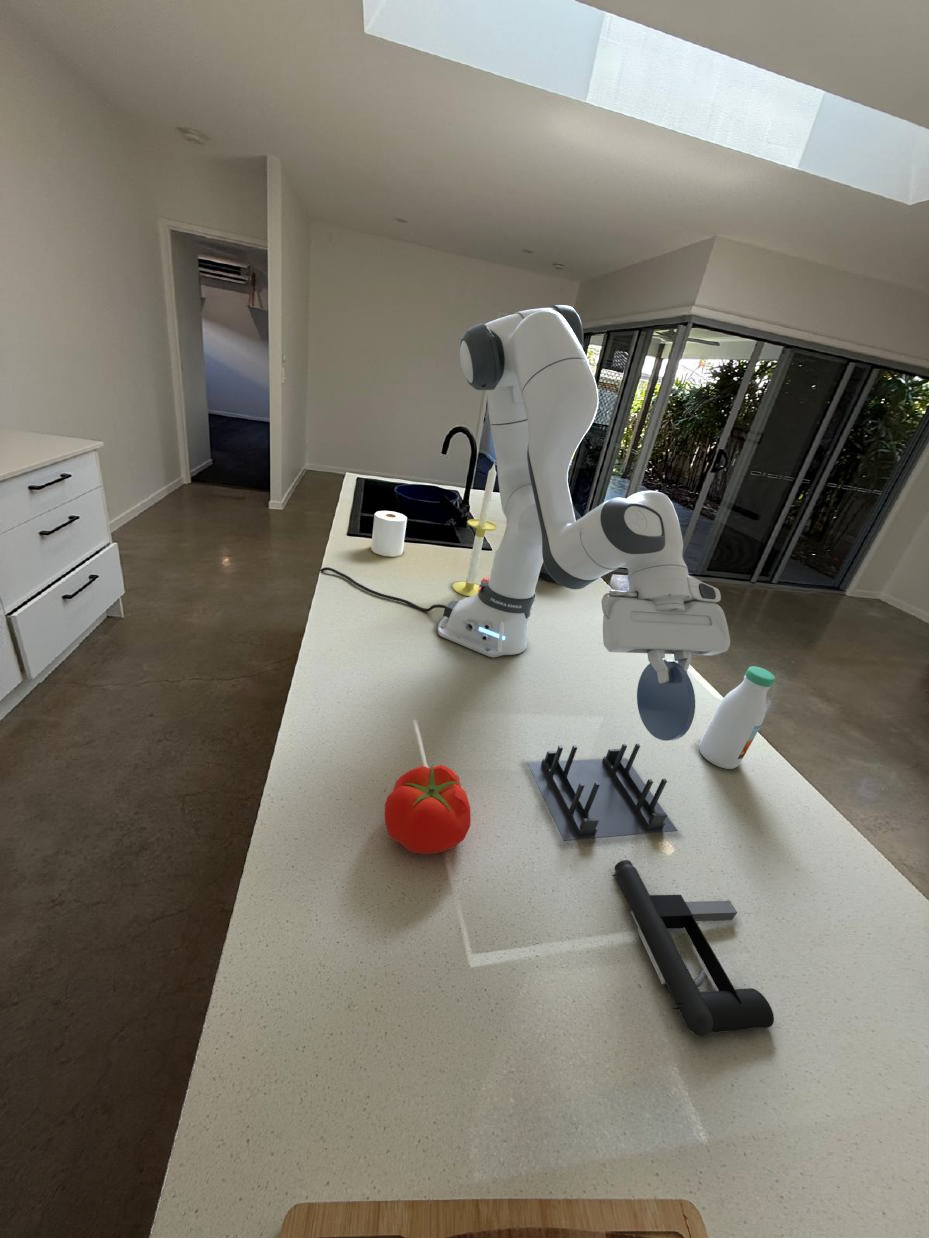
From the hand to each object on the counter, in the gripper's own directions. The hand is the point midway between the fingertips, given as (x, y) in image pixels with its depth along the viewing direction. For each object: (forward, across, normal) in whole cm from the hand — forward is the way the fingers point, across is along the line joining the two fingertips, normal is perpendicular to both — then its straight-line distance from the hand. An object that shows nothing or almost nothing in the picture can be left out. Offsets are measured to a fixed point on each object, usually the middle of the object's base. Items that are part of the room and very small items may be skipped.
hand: (673, 682), depth 74 cm
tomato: (+19, -34, +15) cm, 42 cm away
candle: (-40, -7, +74) cm, 84 cm away
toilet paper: (-58, -29, +92) cm, 113 cm away
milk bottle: (+11, +27, +24) cm, 37 cm away
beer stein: (-53, +25, +87) cm, 105 cm away
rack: (+16, -4, +17) cm, 24 cm away
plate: (+6, 0, +7) cm, 9 cm away
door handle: (+33, -3, +1) cm, 34 cm away
